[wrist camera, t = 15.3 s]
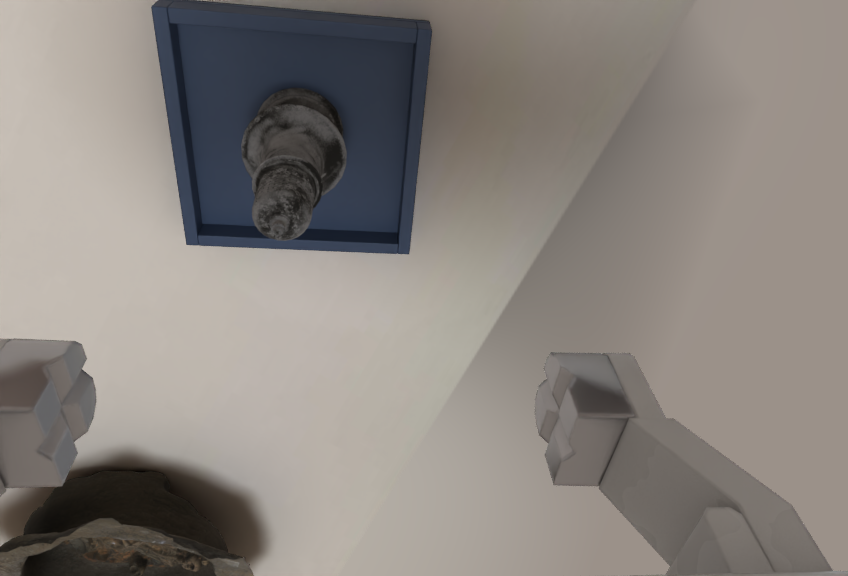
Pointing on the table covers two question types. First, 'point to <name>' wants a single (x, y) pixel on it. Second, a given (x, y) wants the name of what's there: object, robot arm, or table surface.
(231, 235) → the tray
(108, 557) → the stone bowl
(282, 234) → the black chess piece
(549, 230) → the table surface
